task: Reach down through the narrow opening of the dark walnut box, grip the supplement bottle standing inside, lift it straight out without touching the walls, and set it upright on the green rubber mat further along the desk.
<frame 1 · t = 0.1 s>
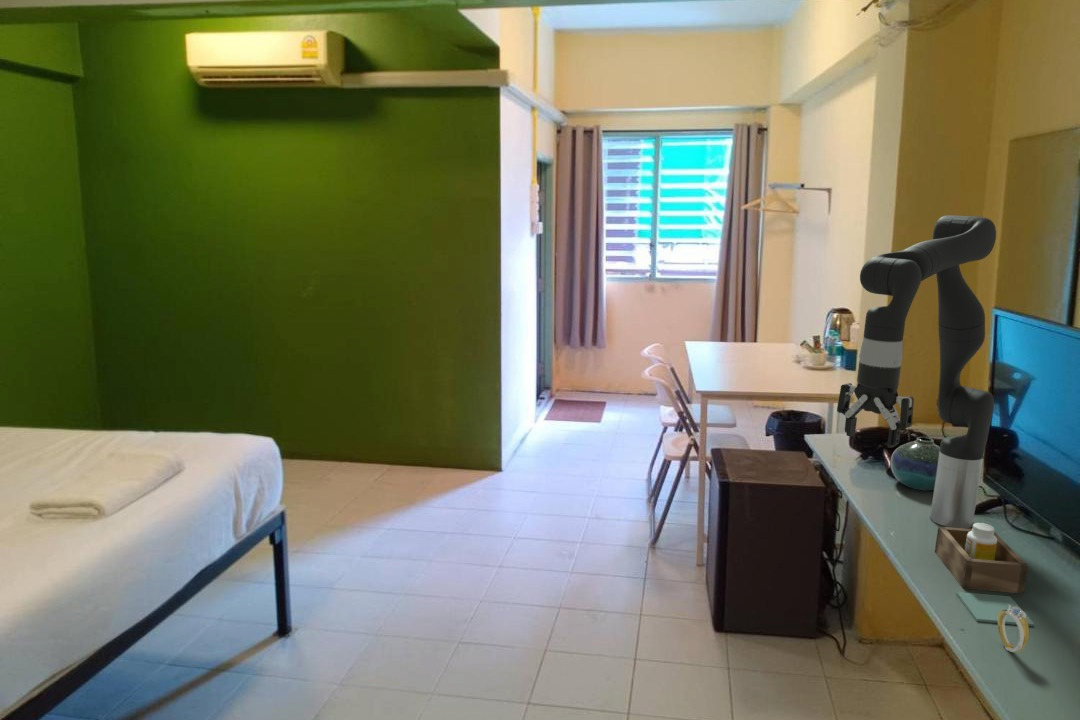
hand: (870, 441, 157), 29 cm above the table, tool pointing down, fingers open, 8 cm apart
ring: (1008, 650, 138), on the table
vase: (918, 486, 214), on the table
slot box: (976, 571, 166), on the table
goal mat: (993, 609, 151), on the table
supplement bottle: (976, 572, 166), resting in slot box
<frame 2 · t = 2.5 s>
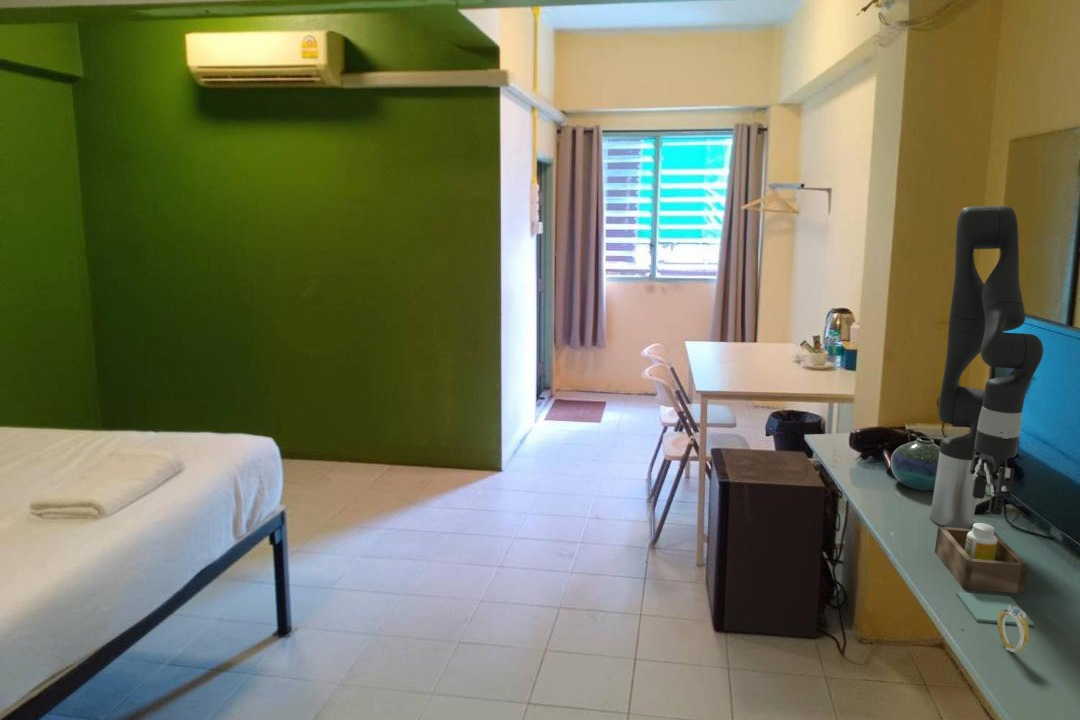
hand: (986, 505, 163), 15 cm above the table, tool pointing down, fingers open, 8 cm apart
nothing on the table moved.
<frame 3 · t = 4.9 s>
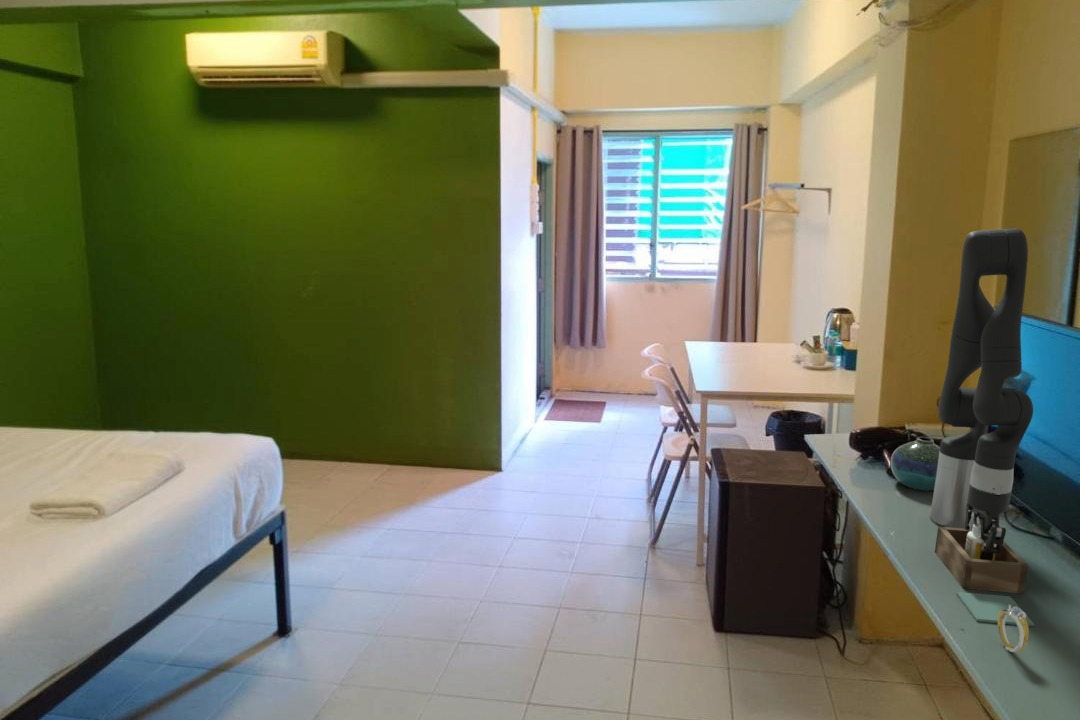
hand: (978, 560, 166), 3 cm above the table, tool pointing down, fingers closed on supplement bottle, 5 cm apart
supplement bottle: (976, 572, 166), resting in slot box, touching gripper
everything else where it was.
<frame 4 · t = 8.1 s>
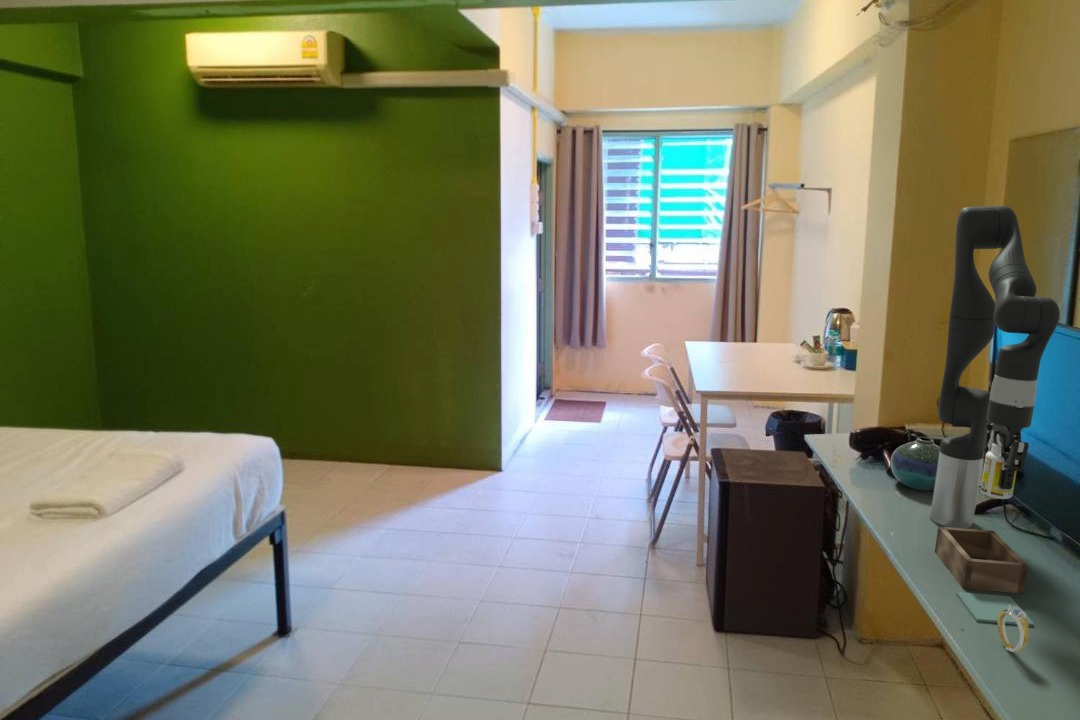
hand: (998, 482, 155), 22 cm above the table, tool pointing down, fingers closed on supplement bottle, 5 cm apart
supplement bottle: (995, 495, 156), point 20 cm above the table, touching gripper
everything else where it was.
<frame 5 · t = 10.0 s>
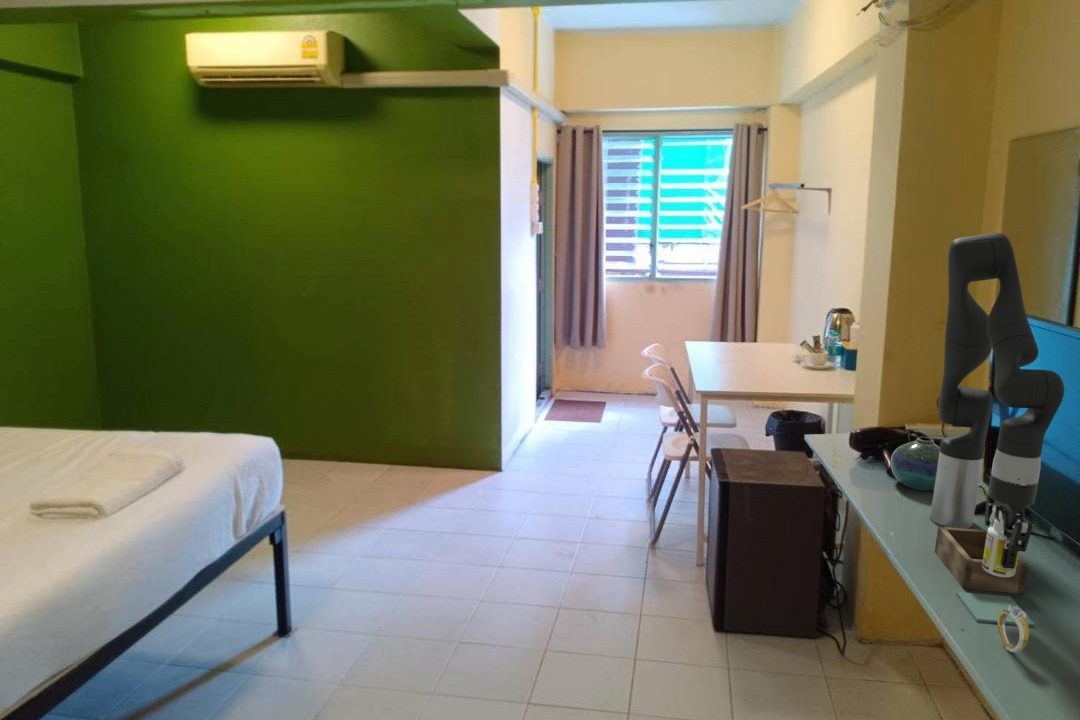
hand: (1000, 559, 149), 10 cm above the table, tool pointing down, fingers closed on supplement bottle, 5 cm apart
supplement bottle: (997, 572, 150), point 8 cm above the table, touching gripper
everything else where it was.
when the fingers open (4 cm above the table, at t = 11.5 s): supplement bottle stays where it is, resting on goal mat.
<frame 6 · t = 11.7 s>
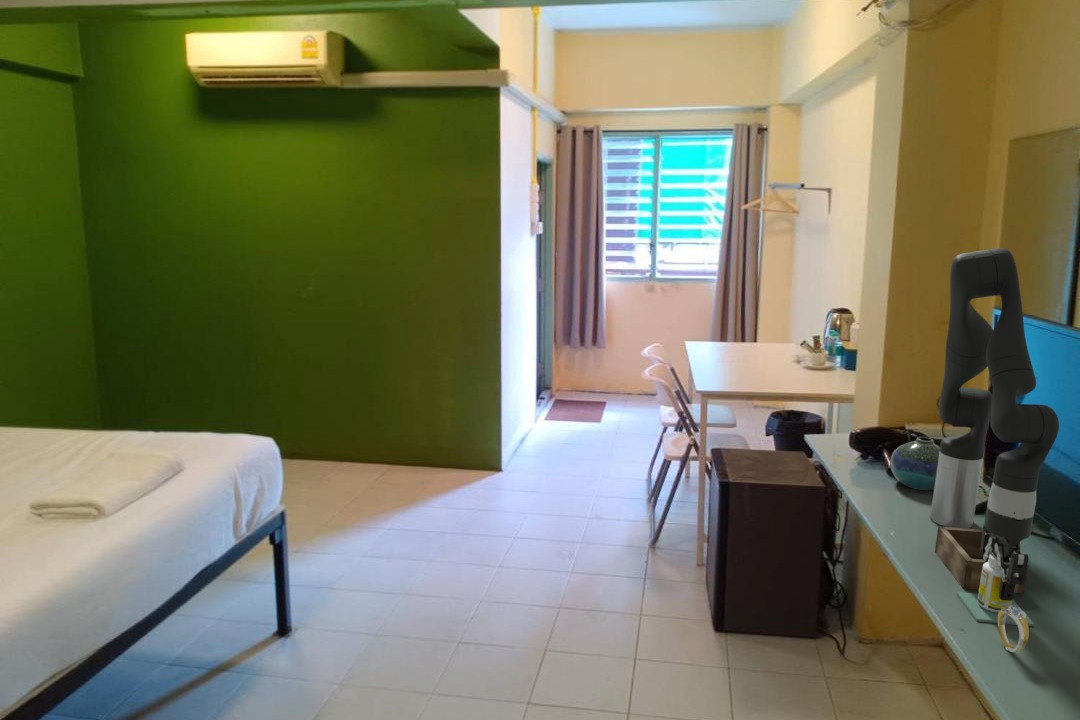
hand: (996, 589, 150), 4 cm above the table, tool pointing down, fingers open, 7 cm apart
supplement bottle: (993, 607, 151), resting on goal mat
everything else where it was.
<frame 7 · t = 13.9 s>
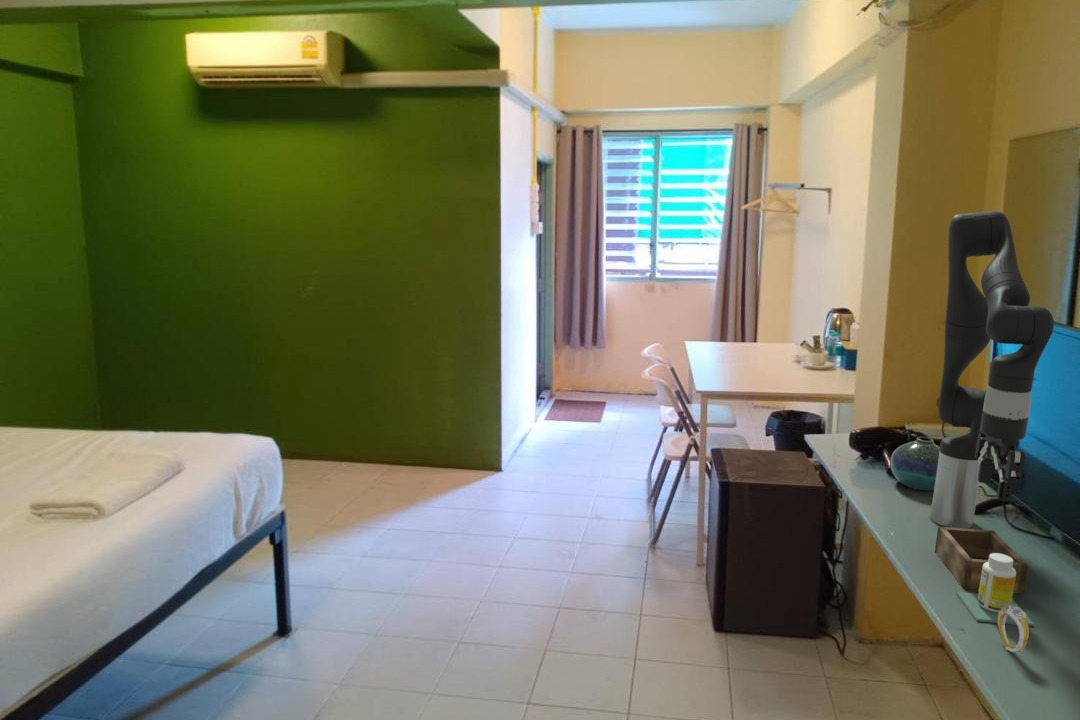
hand: (993, 491, 152), 22 cm above the table, tool pointing down, fingers open, 8 cm apart
nothing on the table moved.
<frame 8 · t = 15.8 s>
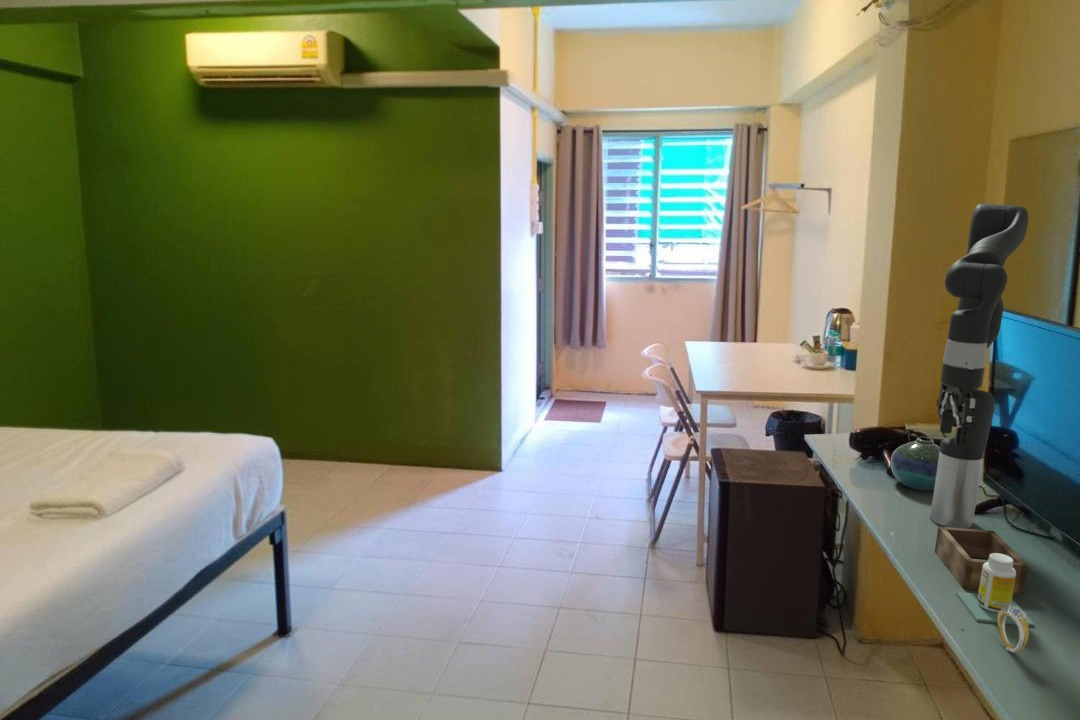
hand: (952, 439, 163), 28 cm above the table, tool pointing down, fingers open, 8 cm apart
nothing on the table moved.
at the end: supplement bottle 0.2 cm off-centre on the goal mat, point 0.3 cm above the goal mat's base; supplement bottle tilted 0°; the gripper is holding nothing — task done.
